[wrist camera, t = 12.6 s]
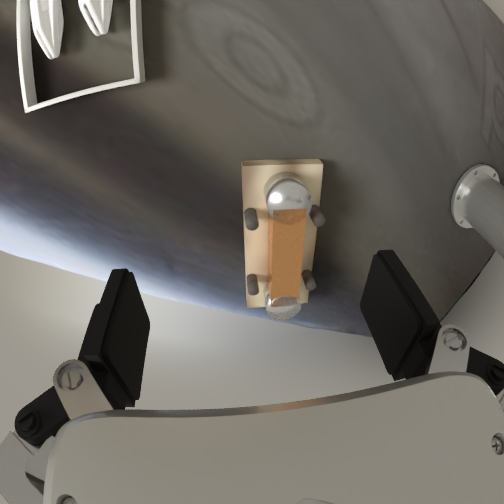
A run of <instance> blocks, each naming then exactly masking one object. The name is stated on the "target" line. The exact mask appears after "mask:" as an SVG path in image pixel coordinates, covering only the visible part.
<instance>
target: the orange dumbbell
mask: <svg viewBox="0 0 504 504" xmlns="http://www.w3.org/2000/svg"><path fill="white" fill-rule="evenodd" d="M264 197H265V201H266V204H267V208H268V268H267V284H266V285H265V287H264V290H263V293H264V299H265V305H266V311H267V314H268V315H269V316H270V317H271V318H273V319H276V320H286V319H289V318H292V317H294V316H295V315H296V314H297V313H298V312H299V311H300V309H301V303H300V299H299V296H298V295H299V286H300V277H301V267H302V257H303V247H304V236H305V224H306V217H307V215H308V214H309V212H310V210H311V207H312V198H311V196H310V194H309V192H308V190H307V189H306V187H305V185H304V183H303V182H302V180H301V179H300V178H299V177H298V176H297V175H296V174H294V173H291V172H279V173H276V174H274V175H273V176H271V177H270V178H269V179H268V180H267V182H266V184H265V186H264Z"/></svg>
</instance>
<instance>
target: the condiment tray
mask: <svg viewBox="0 0 504 504" xmlns="http://www.w3.org/2000/svg"><path fill="white" fill-rule="evenodd" d="M130 10H131V35H132V52H133V65H134V77H135V78H133V79H128V80H123V81H118V82H113V83H109V84H104V85H100V86H96V87H92V88H88V89H84V90H81V91H77V92H73V93H70V94H66V95H63V96H60V97H57V98H53V99H50V100H47V101H44V102H41V103H38V104H37V97H36V90H35V82H34V73H33V63H32V50H31V30H30V0H17V48H18V62H19V72H20V81H21V89H22V96H23V103H24V109H25V113H27V112H30V111H33V110H36V109H39V108H42V107H45V106H48V105H51V104H54V103H57V102H61V101H64V100H67V99H71V98H75V97H78V96H82V95H86V94H90V93H94V92H98V91H102V90H107V89H111V88H116V87H121V86H126V85H131V84H137V83H141V82H144V81H145V69H144V55H143V39H142V16H141V0H130Z"/></svg>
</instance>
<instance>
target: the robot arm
mask: <svg viewBox="0 0 504 504" xmlns="http://www.w3.org/2000/svg"><path fill="white" fill-rule="evenodd" d="M451 213H452V216H453V219H454V220H455V222H456V223H457V224H458V225H460V226H461V227H463V228H474V229H475V230H476V231H477V232H478V233H479V234H480V235H481V236H482V237H483V238H484V239H485V240H486V241H487V242H488V243H489V244H490V245H491V246H492V247H493V248H494V249H495V250H496V251H497V252H498V253H499V255H500V256H501V257H502V258H503V259H504V186H503V185H502V184H500V181H499V176H498V174H497V172H496V171H495V170H494V169H493V168H492V167H490V166H489V165H487V164H477V165H475V166H473V167H471V168H470V169H468V170H467V171H466V172H465V173H464V174H463V175H462V177H461V178H460V180H459V181H458V183H457V185H456V187H455V189H454V192H453V195H452V200H451ZM360 308H361V311H362V314H363V316H364V318H365V320H366V322H367V325H368V327H369V329H370V332H371V334H372V336H373V339H374V341H375V343H376V345H377V348H378V350H379V353H380V355H381V357H382V360H383V362H384V365H385V367H386V370H387V372H388V373H389V374H390V375H391V374H392V377H393V379H394V381H396V380H400V379H403V378H406V380H403V381H399V382H394V383H391V384H386V385H382V386H378V387H373V388H369V389H364V390H360V391H355V392H351V393H345V394H340V395H334V396H328V397H323V398H316V399H310V400H303V401H296V402H289V403H281V404H272V405H263V406H252V407H239V408H224V409H202V410H125V407H135V400H139V398H140V391H141V383H142V375H143V368H144V361H145V355H146V348H147V342H148V336H149V330H150V321H149V317H148V315H147V312H146V309H145V306H144V304H143V301H142V298H141V295H140V292H139V289H138V286H137V283H136V280H135V277H134V274H133V273H132V272H129V271H128V269H113V270H112V272H111V274H110V277H109V279H108V282H107V284H106V287H105V290H104V293H103V295H102V298H101V301H100V304H97V305H96V306H95V308H94V310H93V313H92V316H91V319H90V322H89V325H88V328H87V331H86V334H85V337H84V340H83V344H82V347H81V350H80V353H79V357H78V360H75V359H74V360H68V361H66V362H63V363H62V364H61V365H60V366H59V367H58V368H57V369H56V371H55V373H54V376H53V383H54V386H53V387H51V388H50V389H48V390H47V391H46V392H44V393H43V394H42V395H40V396H39V397H38V398H36V399H35V400H33V401H32V402H31V403H29V404H28V405H26V406H25V407H24V408H22V409H21V410H20V411H19V412H18V414H17V416H16V419H15V431H14V432H11V431H10V433H9V434H8V435H7V437H6V438H5V439H4V440H3V442H2V443H1V444H0V494H1V495H2V496H3V497H4V498H5V500H6V501H7V502H8V503H9V504H504V364H503V363H502V362H500V361H499V360H497V359H495V358H493V357H491V356H488V355H486V354H484V353H482V352H480V351H478V350H476V349H474V348H472V347H470V340H469V337H468V335H467V334H466V332H465V331H463V330H462V329H461V328H459V327H458V326H454V325H446V326H443V327H442V326H441V325H440V321H439V319H438V318H437V316H436V314H435V313H434V311H433V310H432V308H431V306H430V305H429V303H428V302H427V300H426V298H425V297H424V295H423V294H422V292H421V291H420V289H419V288H418V286H417V284H416V283H415V281H414V280H413V278H412V277H411V275H410V274H409V272H408V271H407V270H406V268H405V267H404V265H403V264H402V262H401V261H400V259H399V258H398V257H397V255H396V254H395V252H394V251H393V250H380V251H378V252H377V254H375V255H374V256H373V259H372V263H371V267H370V271H369V274H368V278H367V281H366V285H365V288H364V292H363V295H362V299H361V302H360Z"/></svg>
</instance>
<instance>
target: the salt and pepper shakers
mask: <svg viewBox="0 0 504 504" xmlns="http://www.w3.org/2000/svg"><path fill="white" fill-rule="evenodd" d="M78 2H79V7H80V10H81V12H82V14H83V16H84V18H85V20H86V22H87V24H88V26H89V27H90V29H91V30H92V32H93V33H94V34H95V35H96V36H100V35H101V34H106V33H107V32H108V29H109V24H110V18H111V11H112V4H113V0H78ZM30 11H31V19H32V26H33V31H34V35H35V37H36V39H37V41H38V43H39V45H40V46H41V48H42V50H43V51H44V53H45V54H46V56H47V57H48V58H49V59H54V58H57V57H58V56H59V54H60V48H61V41H62V34H63V25H64V21H63V12H62V4H61V0H30Z"/></svg>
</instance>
